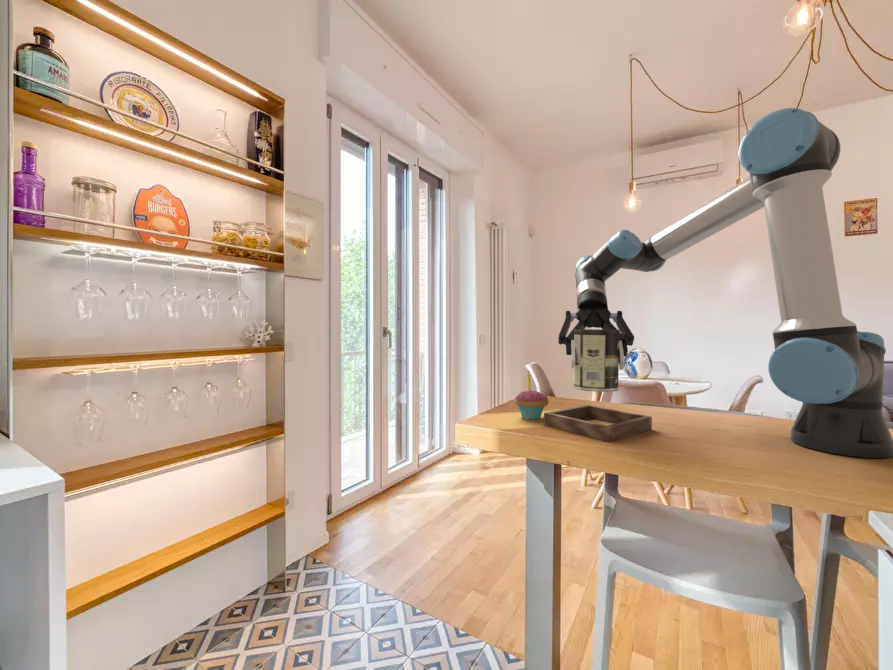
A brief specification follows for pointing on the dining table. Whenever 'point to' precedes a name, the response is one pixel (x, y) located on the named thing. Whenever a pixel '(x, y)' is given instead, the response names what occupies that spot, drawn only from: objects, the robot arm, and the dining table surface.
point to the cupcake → (531, 402)
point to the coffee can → (596, 360)
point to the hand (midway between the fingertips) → (597, 364)
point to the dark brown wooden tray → (572, 423)
